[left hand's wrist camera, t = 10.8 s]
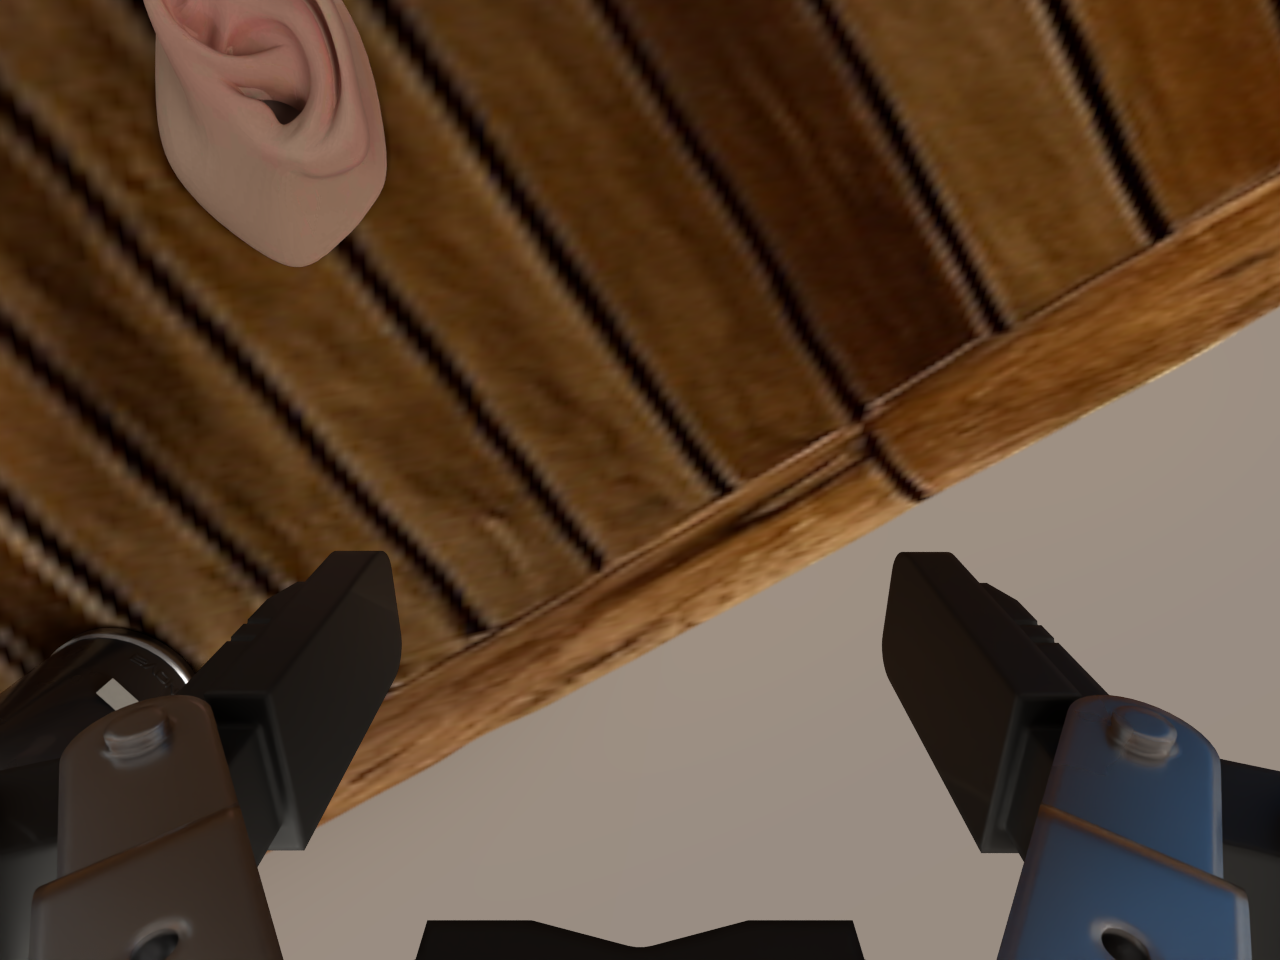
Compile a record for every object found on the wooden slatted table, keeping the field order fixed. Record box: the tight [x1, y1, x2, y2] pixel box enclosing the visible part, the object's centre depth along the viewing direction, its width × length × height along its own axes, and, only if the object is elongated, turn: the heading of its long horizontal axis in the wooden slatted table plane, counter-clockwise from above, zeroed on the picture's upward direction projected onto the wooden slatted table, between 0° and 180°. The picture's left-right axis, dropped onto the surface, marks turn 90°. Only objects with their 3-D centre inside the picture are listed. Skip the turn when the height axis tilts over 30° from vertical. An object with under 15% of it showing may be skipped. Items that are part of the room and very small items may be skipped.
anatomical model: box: [143, 0, 387, 267], centre depth 31 cm, size 13×4×12 cm
